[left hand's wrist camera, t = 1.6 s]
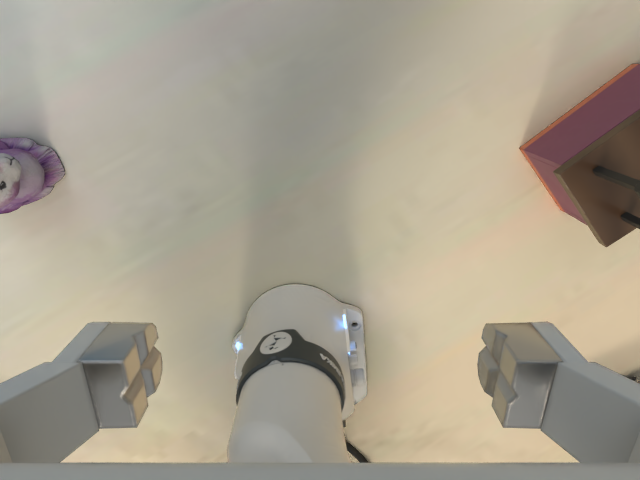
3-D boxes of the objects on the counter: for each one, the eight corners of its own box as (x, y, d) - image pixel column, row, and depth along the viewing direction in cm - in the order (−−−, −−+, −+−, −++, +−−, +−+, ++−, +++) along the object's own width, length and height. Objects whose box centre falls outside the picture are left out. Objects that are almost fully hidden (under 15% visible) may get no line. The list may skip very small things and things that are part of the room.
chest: (560, 209, 52) (607, 237, 44) (519, 148, 50) (560, 165, 41) (669, 134, 49) (743, 148, 40) (632, 63, 46) (703, 63, 38)
